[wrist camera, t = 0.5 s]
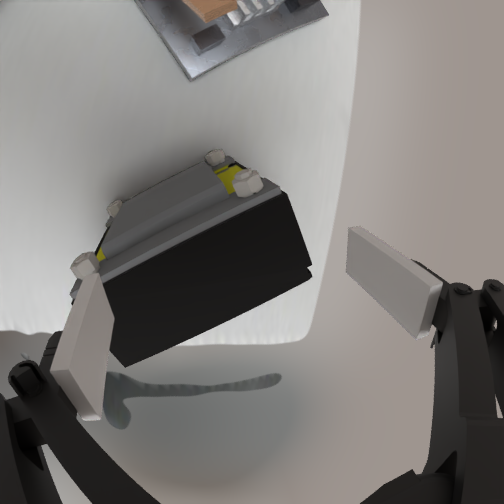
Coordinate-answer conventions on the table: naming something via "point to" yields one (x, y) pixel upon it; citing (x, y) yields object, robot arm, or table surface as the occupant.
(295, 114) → the table surface
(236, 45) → the heatsink base
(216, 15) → the lever
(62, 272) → the table surface
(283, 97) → the table surface
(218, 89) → the table surface
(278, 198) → the electrical component
